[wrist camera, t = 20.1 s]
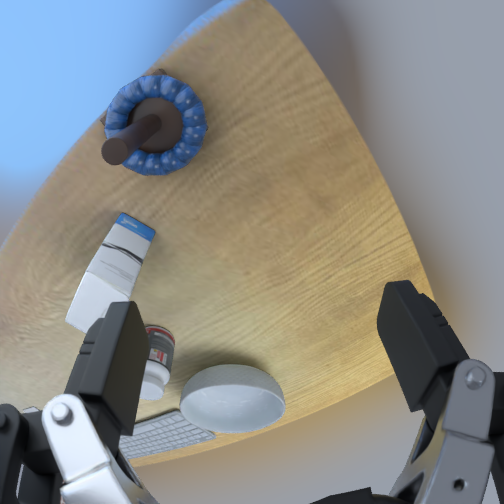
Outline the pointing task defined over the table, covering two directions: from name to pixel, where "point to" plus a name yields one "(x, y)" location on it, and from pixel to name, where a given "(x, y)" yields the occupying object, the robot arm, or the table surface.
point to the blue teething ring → (190, 115)
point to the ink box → (110, 272)
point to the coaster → (30, 410)
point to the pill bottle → (157, 363)
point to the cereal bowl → (232, 399)
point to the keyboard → (163, 435)
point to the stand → (145, 130)
